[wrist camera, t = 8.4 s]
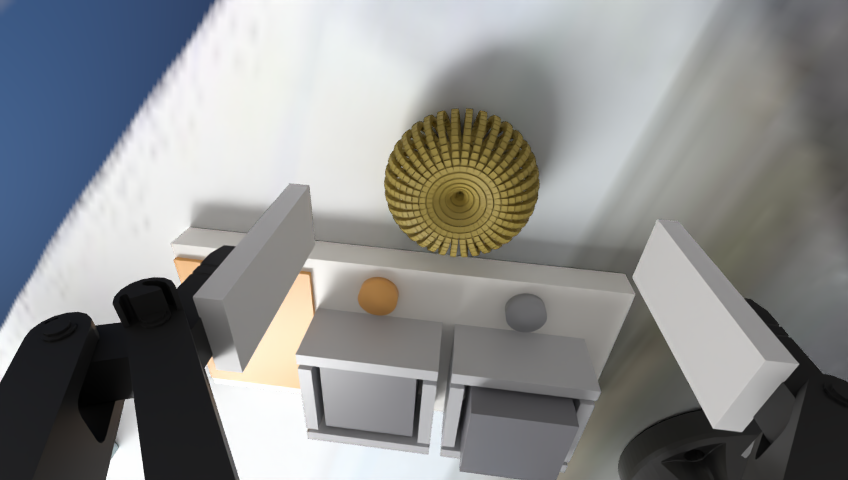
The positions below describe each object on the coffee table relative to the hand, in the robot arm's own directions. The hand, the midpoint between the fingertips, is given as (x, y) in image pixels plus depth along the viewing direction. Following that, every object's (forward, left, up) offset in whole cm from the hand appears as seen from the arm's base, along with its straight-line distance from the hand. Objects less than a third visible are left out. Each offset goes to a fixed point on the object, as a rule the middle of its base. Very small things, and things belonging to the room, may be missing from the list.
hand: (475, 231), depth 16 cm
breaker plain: (-4, +14, -4) cm, 16 cm away
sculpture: (+1, +1, -8) cm, 8 cm away
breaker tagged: (+5, +14, -6) cm, 16 cm away
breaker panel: (+4, +13, -8) cm, 16 cm away
